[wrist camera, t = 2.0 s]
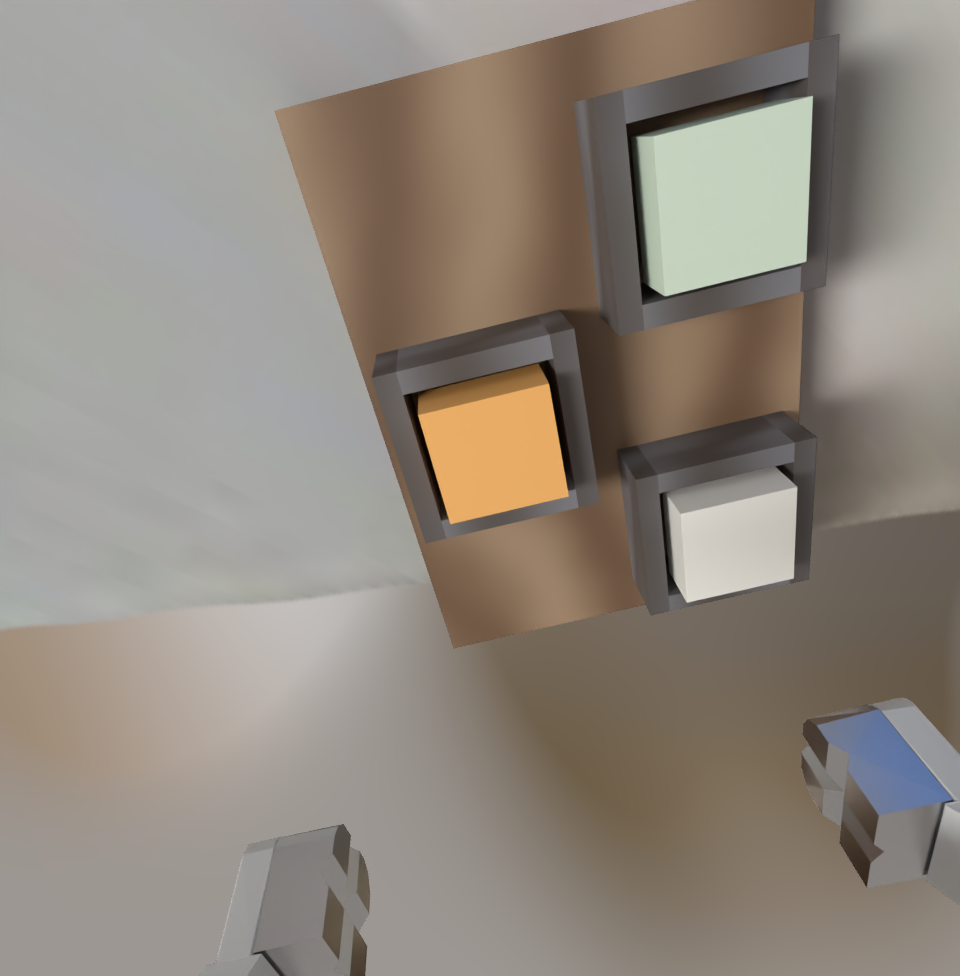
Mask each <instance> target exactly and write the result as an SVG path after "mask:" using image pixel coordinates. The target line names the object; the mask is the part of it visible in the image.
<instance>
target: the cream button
mask: <svg viewBox="0 0 960 976" xmlns="http://www.w3.org/2000/svg"><path fill="white" fill-rule="evenodd" d="M662 497H663V508H664V520H665V531H666V543H667V554H668V565H669V573H670V574H671V576H672V578H673V579H674V581H675V583H676V585H677V586H678V588H679V590H680V592H681V593H682V595H683V597H684V599H685V600H686V602H687V603H688V602H692V601H697V600H701V599H706V598H710V597H714V596H719V595H723V594H728V593H732V592H736V591H741V590H745V589H750V588H754V587H758V586H763V585H767V584H772V583H776V582H780V581H785V580H789V579H794V559H795V533H796V508H797V486H796V485H795V484H794V483H793V482H791V481H790V480H789V479H788V478H787V477H786V476H785V475H784V474H783V473H782V472H781V471H779V470H778V469H777V468H776V467H775V466H774V467H770V468H766V469H761V470H757V471H753V472H749V473H744V474H740V475H736V476H732V477H727V478H723V479H719V480H715V481H710V482H706V483H702V484H697V485H693V486H689V487H685V488H680V489H676V490H672V491H668V492H663V493H662Z"/></svg>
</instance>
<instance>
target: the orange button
mask: <svg viewBox="0 0 960 976" xmlns="http://www.w3.org/2000/svg"><path fill="white" fill-rule="evenodd" d="M418 417H419V420H420V423H421V427H422V430H423V434H424V437H425V440H426V444H427V447H428V450H429V454H430V457H431V461H432V464H433V467H434V471H435V474H436V477H437V481H438V484H439V488H440V491H441V494H442V498H443V501H444V504H445V508H446V511H447V515H448V518H449V521H450V524H454V523H458V522H462V521H467V520H471V519H475V518H479V517H484V516H488V515H492V514H496V513H501V512H505V511H509V510H513V509H518V508H522V507H526V506H530V505H535V504H539V503H543V502H547V501H552V500H556V499H560V498H564V497H569V494H568V489H567V483H566V477H565V472H564V466H563V460H562V455H561V449H560V443H559V438H558V432H557V426H556V421H555V415H554V409H553V404H552V398H551V392H550V387H549V383H548V381H547V379H546V377H545V375H544V373H543V371H542V369H541V368H540V366H539V364H534V365H530V366H526V367H522V368H517V369H513V370H509V371H505V372H501V373H497V374H493V375H489V376H485V377H481V378H476V379H472V380H468V381H464V382H460V383H456V384H452V385H448V386H444V387H439V388H435V389H431V390H427V391H423V392H419V393H418Z"/></svg>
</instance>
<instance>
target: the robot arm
mask: <svg viewBox="0 0 960 976" xmlns="http://www.w3.org/2000/svg"><path fill="white" fill-rule="evenodd" d="M802 735H803V736H804V738H805V739H806V741H807V743H808V744H809V745H808V746H807V747H806V748H805V749H804V750H803V751H802V753H801V768H802V771H803V775H804V779H805V782H806V785H807V787H808V789H809V792H810V794H811V796H812V798H813V800H814V801H815V803H816V805H817V807H818V808H819V810H820V812H821V813H822V815H824V816H825V817H827V818H828V819H830V820H831V821H833V822H835V823H836V824H838V825H839V826H841V829H840V830H841V831H840V841H839V843H840V845H841V847H842V848H843V850H844V852H845V853H846V855H847V856H848V858H849V860H850V861H851V863H852V864H853V866H854V868H855V870H856V871H857V873H858V874H859V876H860V878H861V879H862V881H863V883H864V884H865V886H866V888H870V887H875V886H881V885H886V884H891V883H897V882H902V881H908V880H913V879H919V878H924V877H927V878H926V881H927V882H928V883H930V884H931V885H932V886H934V887H935V888H936V889H938V890H939V891H940V892H942V893H943V894H944V895H946V896H947V897H948V898H950V899H951V900H952V901H954V902H955V903H956V904H958V905H959V906H960V755H959V753H958V752H957V751H956V750H955V749H954V748H953V747H952V746H951V744H950V743H949V742H948V741H947V740H946V739H945V738H944V737H943V736H942V735H941V733H940V732H939V731H938V730H937V729H936V728H935V727H934V726H933V724H932V723H931V722H930V721H929V720H928V719H927V718H926V717H925V716H924V714H923V713H922V712H921V711H920V710H919V709H918V708H917V707H916V706H915V705H914V703H912V702H911V701H909V700H907V699H906V698H896V699H892V700H888V701H884V702H880V703H876V704H871V705H863V706H859V707H855V708H851V709H846V710H842V711H838V712H834V713H830V714H826V715H822V716H818V717H814V718H810V719H807V720H806V721H805V722H804V723H803V732H802ZM350 840H351V835H350V833H349V832H348V831H347V829H346V827H345V826H344V824H341V825H337V826H332V827H327V828H322V829H318V830H313V831H309V832H304V833H299V834H294V835H290V836H285V837H279V838H274V839H270V840H265V841H261V842H257V843H253V844H249V846H248V847H247V849H246V851H245V853H244V855H243V857H242V860H241V864H240V868H239V872H238V876H237V880H236V884H235V888H234V892H233V896H232V900H231V904H230V908H229V912H228V916H227V920H226V924H225V929H224V932H223V936H222V940H221V944H220V949H219V952H218V957H217V961H216V963H213V964H209V965H207V966H206V967H205V968H204V970H203V971H202V972H201V974H200V975H199V976H365V971H366V956H367V945H366V943H365V942H364V940H363V938H362V937H361V935H360V934H359V930H360V929H361V927H362V925H363V923H364V922H365V920H366V918H367V917H368V915H369V906H370V887H369V877H368V871H367V867H366V864H365V860H364V858H363V856H362V854H361V853H360V851H358V850H356V849H354V848H351V847H350Z"/></svg>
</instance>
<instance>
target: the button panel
mask: <svg viewBox="0 0 960 976" xmlns="http://www.w3.org/2000/svg"><path fill="white" fill-rule="evenodd" d="M814 15H815V0H695V1H691V2H687V3H683V4H680V5H676V6H672V7H668V8H664V9H661V10H657V11H653V12H649V13H645V14H642V15H638V16H634V17H630V18H626V19H622V20H619V21H615V22H611V23H607V24H603V25H600V26H596V27H592V28H588V29H584V30H581V31H577V32H573V33H569V34H565V35H562V36H558V37H554V38H550V39H546V40H543V41H539V42H535V43H531V44H527V45H523V46H520V47H516V48H512V49H508V50H504V51H501V52H497V53H493V54H489V55H485V56H482V57H478V58H474V59H470V60H466V61H463V62H459V63H455V64H451V65H447V66H443V67H440V68H436V69H432V70H428V71H424V72H421V73H417V74H413V75H409V76H405V77H402V78H398V79H394V80H390V81H386V82H383V83H379V84H375V85H371V86H367V87H364V88H360V89H356V90H352V91H348V92H344V93H341V94H337V95H333V96H329V97H325V98H322V99H318V100H314V101H310V102H306V103H303V104H299V105H295V106H291V107H287V108H284V109H280V110H276V111H275V114H276V117H277V120H278V123H279V126H280V129H281V132H282V135H283V138H284V141H285V144H286V147H287V150H288V153H289V156H290V159H291V162H292V165H293V168H294V171H295V174H296V177H297V180H298V183H299V186H300V189H301V192H302V195H303V198H304V201H305V204H306V207H307V210H308V213H309V216H310V219H311V222H312V225H313V228H314V231H315V234H316V237H317V240H318V243H319V246H320V249H321V252H322V255H323V258H324V261H325V264H326V267H327V270H328V273H329V276H330V279H331V282H332V285H333V288H334V291H335V294H336V297H337V300H338V303H339V306H340V309H341V312H342V315H343V318H344V321H345V324H346V327H347V330H348V333H349V336H350V339H351V342H352V345H353V348H354V351H355V354H356V357H357V360H358V363H359V366H360V369H361V372H362V375H363V378H364V381H365V384H366V387H367V390H368V393H369V396H370V399H371V402H372V405H373V408H374V411H375V414H376V417H377V420H378V423H379V426H380V429H381V432H382V435H383V438H384V441H385V444H386V447H387V450H388V453H389V456H390V459H391V462H392V465H393V468H394V471H395V474H396V477H397V480H398V483H399V486H400V489H401V492H402V495H403V498H404V501H405V504H406V507H407V510H408V513H409V516H410V519H411V522H412V525H413V528H414V531H415V534H416V537H417V540H418V543H419V546H420V549H421V552H422V555H423V558H424V561H425V564H426V567H427V570H428V573H429V576H430V579H431V582H432V585H433V588H434V591H435V594H436V597H437V600H438V603H439V606H440V608H441V612H442V615H443V618H444V621H445V623H446V627H447V629H448V632H449V636H450V639H451V642H452V645H453V647H454V648H457V647H462V646H466V645H471V644H475V643H479V642H484V641H488V640H492V639H497V638H501V637H505V636H510V635H515V634H519V633H523V632H527V631H532V630H537V629H541V628H545V627H549V626H554V625H558V624H563V623H567V622H572V621H576V620H580V619H585V618H589V617H593V616H598V615H602V614H607V613H611V612H615V611H619V610H624V609H629V608H633V607H637V606H642V605H646V606H647V608H648V610H649V612H650V615H655V614H659V613H664V612H668V611H672V610H676V609H681V608H685V607H690V606H694V605H699V604H703V603H707V602H712V601H716V600H721V599H725V598H730V597H734V596H738V595H742V594H747V593H752V592H756V591H760V590H765V589H769V588H774V587H778V586H783V585H787V584H791V583H795V582H800V581H805V580H808V579H809V572H810V554H811V534H812V518H813V500H814V482H815V464H816V446H817V437H816V436H814V435H813V434H812V433H810V432H809V431H808V430H806V429H805V428H804V427H802V426H801V425H800V424H799V402H800V376H801V350H802V324H803V299H804V291H807V290H811V289H815V288H819V287H823V286H825V284H826V266H827V248H828V230H829V212H830V194H831V176H832V158H833V140H834V122H835V104H836V87H837V69H838V51H839V34H837V35H833V36H829V37H825V38H821V39H817V40H814ZM807 96H813V106H812V132H811V157H810V182H809V207H808V232H807V257H806V262H803V263H799V264H795V265H791V266H787V267H783V268H779V269H775V270H771V271H766V272H762V273H758V274H754V275H750V276H746V277H742V278H738V279H734V280H730V281H726V282H722V283H718V284H714V285H709V286H705V287H701V288H697V289H693V290H689V291H685V292H681V293H677V294H673V295H669V296H663V295H662V294H660V293H659V292H657V291H656V290H654V289H653V288H651V287H649V286H648V285H646V284H645V283H644V280H643V269H642V257H641V246H640V235H639V223H638V212H637V200H636V189H635V178H634V166H633V155H632V143H631V137H632V136H636V135H640V134H644V133H648V132H652V131H656V130H660V129H664V128H668V127H672V126H675V125H679V124H683V123H687V122H691V121H695V120H699V119H703V118H707V117H711V116H715V115H719V114H722V113H726V112H730V111H734V110H738V109H742V108H746V107H750V106H754V105H758V104H762V103H765V102H769V101H773V100H780V99H789V98H798V97H807ZM534 364H539V366H540V368H541V369H542V371H543V373H544V375H545V377H546V379H547V381H548V383H549V387H550V392H551V398H552V404H553V409H554V415H555V421H556V426H557V432H558V438H559V443H560V449H561V455H562V460H563V466H564V472H565V477H566V483H567V489H568V494H569V497H564V498H560V499H556V500H552V501H547V502H543V503H539V504H535V505H530V506H526V507H522V508H518V509H513V510H509V511H505V512H501V513H496V514H492V515H488V516H484V517H479V518H475V519H471V520H467V521H462V522H458V523H454V524H450V521H449V518H448V515H447V511H446V508H445V504H444V501H443V498H442V494H441V491H440V488H439V484H438V481H437V477H436V474H435V471H434V467H433V464H432V461H431V457H430V454H429V450H428V447H427V444H426V440H425V437H424V434H423V430H422V427H421V423H420V420H419V417H418V393H419V392H423V391H427V390H431V389H435V388H439V387H444V386H448V385H452V384H456V383H460V382H464V381H468V380H472V379H476V378H481V377H485V376H489V375H493V374H497V373H501V372H505V371H509V370H513V369H517V368H522V367H526V366H530V365H534ZM774 466H775V467H776V468H777V469H778V470H779V471H781V472H782V473H783V474H784V475H785V476H786V477H787V478H788V479H789V480H790V481H791V482H793V483H794V484H795V485H796V486H797V508H796V533H795V559H794V579H789V580H785V581H780V582H776V583H772V584H767V585H763V586H758V587H754V588H750V589H745V590H741V591H736V592H732V593H728V594H723V595H719V596H714V597H710V598H706V599H701V600H697V601H692V602H688V603H687V602H686V600H685V599H684V597H683V595H682V593H681V592H680V590H679V588H678V586H677V585H676V583H675V581H674V579H673V578H672V576H671V574H670V573H669V565H668V554H667V543H666V531H665V520H664V508H663V497H662V493H663V492H668V491H672V490H676V489H680V488H685V487H689V486H693V485H697V484H702V483H706V482H710V481H715V480H719V479H723V478H727V477H732V476H736V475H740V474H744V473H749V472H753V471H757V470H761V469H766V468H770V467H774Z"/></svg>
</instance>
